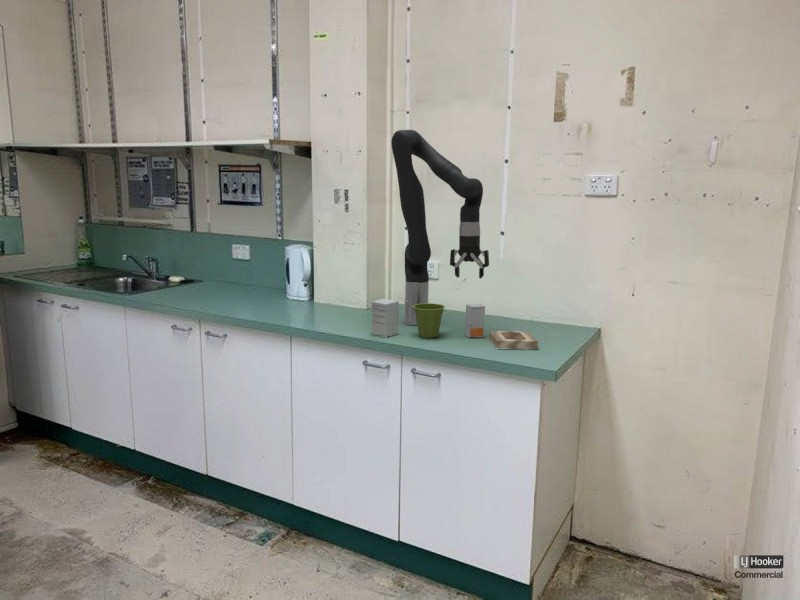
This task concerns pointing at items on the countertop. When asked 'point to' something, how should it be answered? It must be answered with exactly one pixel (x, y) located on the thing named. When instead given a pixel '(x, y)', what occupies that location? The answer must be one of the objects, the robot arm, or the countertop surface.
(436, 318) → the plant pot
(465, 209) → the robot arm
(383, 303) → the supplement box
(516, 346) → the birch plinth
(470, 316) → the skincare box
